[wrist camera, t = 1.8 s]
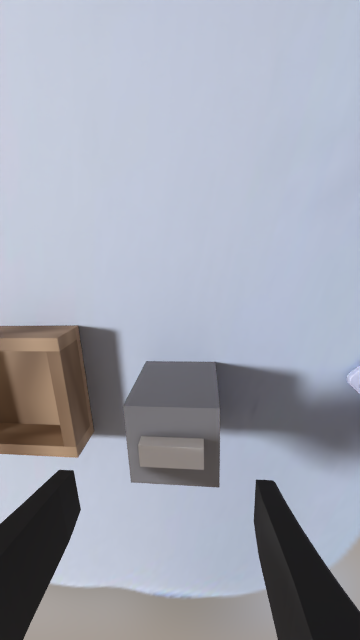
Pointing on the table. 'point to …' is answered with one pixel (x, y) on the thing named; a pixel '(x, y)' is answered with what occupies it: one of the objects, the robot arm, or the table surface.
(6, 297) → the table surface
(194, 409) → the block
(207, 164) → the table surface
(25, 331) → the wooden tray
